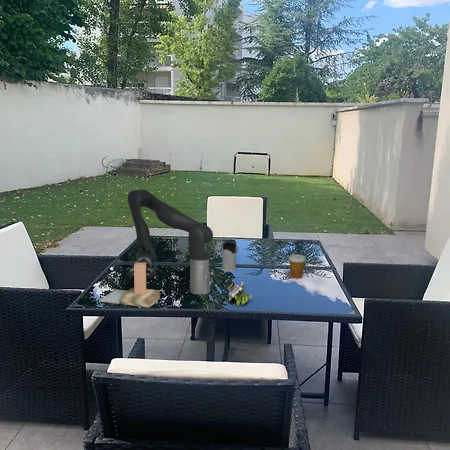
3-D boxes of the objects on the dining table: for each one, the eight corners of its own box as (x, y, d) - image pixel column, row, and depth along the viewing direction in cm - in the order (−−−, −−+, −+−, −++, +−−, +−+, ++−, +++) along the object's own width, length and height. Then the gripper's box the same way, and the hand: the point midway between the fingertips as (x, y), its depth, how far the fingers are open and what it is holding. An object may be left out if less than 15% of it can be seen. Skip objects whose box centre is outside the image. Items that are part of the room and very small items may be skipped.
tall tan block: (146, 291, 212) (145, 262, 210) (145, 294, 208) (145, 265, 206) (135, 291, 212) (135, 262, 209) (134, 294, 208) (134, 265, 205)
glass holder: (218, 269, 263) (219, 244, 260) (229, 264, 275) (230, 240, 272) (232, 272, 259) (232, 246, 256) (242, 266, 271) (243, 241, 268)
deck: (159, 298, 215) (159, 290, 214) (149, 307, 203) (149, 299, 203) (132, 295, 218) (132, 287, 217) (120, 304, 207) (120, 295, 206)
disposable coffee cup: (306, 280, 248) (308, 258, 245) (289, 280, 247) (290, 258, 244) (302, 274, 257) (303, 254, 254) (286, 274, 256) (287, 254, 254)
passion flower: (230, 312, 214) (225, 288, 219) (252, 307, 215) (247, 283, 220) (230, 306, 204) (225, 281, 208) (254, 302, 205) (248, 277, 209)
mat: (134, 292, 222) (134, 291, 222) (118, 303, 207) (118, 302, 207) (115, 290, 225) (115, 289, 225) (99, 301, 210) (99, 300, 209)
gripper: (128, 258, 224) (124, 268, 208) (157, 258, 225) (155, 268, 209) (128, 273, 225) (124, 283, 209) (157, 273, 226) (155, 283, 211)
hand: (140, 275), depth 209 cm, fingers open, 8 cm apart
